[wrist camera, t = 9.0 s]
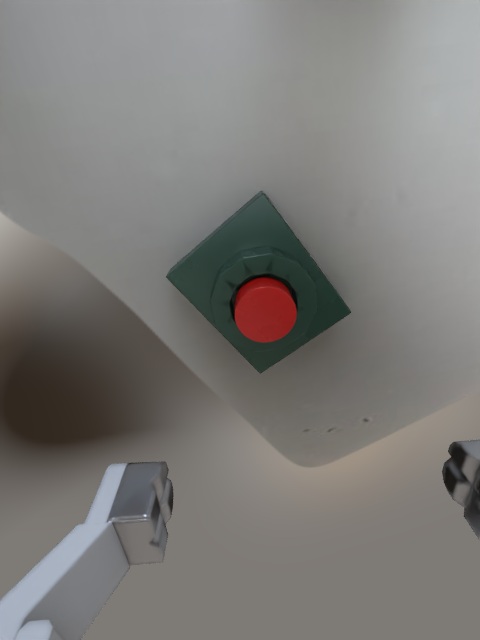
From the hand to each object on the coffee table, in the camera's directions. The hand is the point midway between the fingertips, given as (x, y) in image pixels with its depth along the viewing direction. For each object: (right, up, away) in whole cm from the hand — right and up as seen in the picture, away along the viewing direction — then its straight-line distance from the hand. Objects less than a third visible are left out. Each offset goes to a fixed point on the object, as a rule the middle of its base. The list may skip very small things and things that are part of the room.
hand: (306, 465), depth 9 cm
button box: (0, +6, +14) cm, 15 cm away
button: (0, +5, +11) cm, 12 cm away
